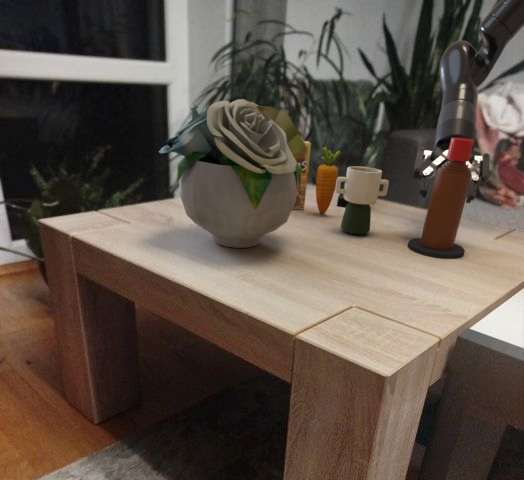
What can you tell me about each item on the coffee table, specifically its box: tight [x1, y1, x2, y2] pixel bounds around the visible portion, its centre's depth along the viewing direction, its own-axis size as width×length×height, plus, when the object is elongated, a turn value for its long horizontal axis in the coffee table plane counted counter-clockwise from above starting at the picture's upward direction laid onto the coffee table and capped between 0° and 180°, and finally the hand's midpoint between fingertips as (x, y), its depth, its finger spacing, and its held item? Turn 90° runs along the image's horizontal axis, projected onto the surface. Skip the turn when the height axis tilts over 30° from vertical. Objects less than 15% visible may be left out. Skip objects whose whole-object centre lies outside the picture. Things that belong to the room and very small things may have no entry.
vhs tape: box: [336, 187, 349, 208], centre depth 134 cm, size 8×14×2 cm, turn 168°
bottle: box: [420, 160, 472, 250], centre depth 96 cm, size 6×6×19 cm
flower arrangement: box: [158, 98, 307, 249], centre depth 89 cm, size 25×25×24 cm
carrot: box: [315, 146, 342, 216], centre depth 115 cm, size 5×5×15 cm
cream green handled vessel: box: [334, 165, 390, 235], centre depth 104 cm, size 11×7×13 cm, turn 93°
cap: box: [447, 138, 475, 162], centre depth 92 cm, size 4×4×4 cm
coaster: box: [407, 237, 466, 259], centre depth 100 cm, size 11×11×1 cm
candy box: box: [292, 140, 312, 211], centre depth 119 cm, size 9×4×15 cm, turn 100°
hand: (446, 198), depth 98 cm, fingers open, 8 cm apart
